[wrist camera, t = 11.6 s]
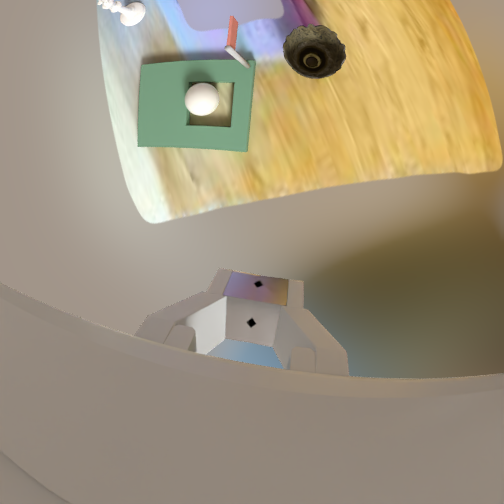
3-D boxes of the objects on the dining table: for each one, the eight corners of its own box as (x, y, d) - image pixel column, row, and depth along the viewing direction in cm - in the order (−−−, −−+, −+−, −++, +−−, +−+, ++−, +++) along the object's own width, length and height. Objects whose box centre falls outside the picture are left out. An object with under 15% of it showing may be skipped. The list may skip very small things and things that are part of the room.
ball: (223, 79, 34) (218, 94, 39) (188, 75, 32) (186, 91, 37) (220, 108, 34) (214, 122, 39) (182, 104, 33) (181, 119, 38)
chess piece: (145, 21, 32) (112, 6, 23) (121, 29, 33) (86, 19, 24) (146, -1, 30) (114, -18, 21) (122, 8, 30) (88, -6, 22)
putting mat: (147, 49, 35) (97, 36, 23) (257, 44, 33) (239, 15, 21) (142, 145, 43) (92, 160, 31) (247, 150, 41) (225, 166, 29)
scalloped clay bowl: (276, 52, 33) (271, 38, 26) (320, 32, 30) (324, 15, 23) (302, 93, 35) (303, 87, 28) (346, 73, 33) (357, 64, 26)
